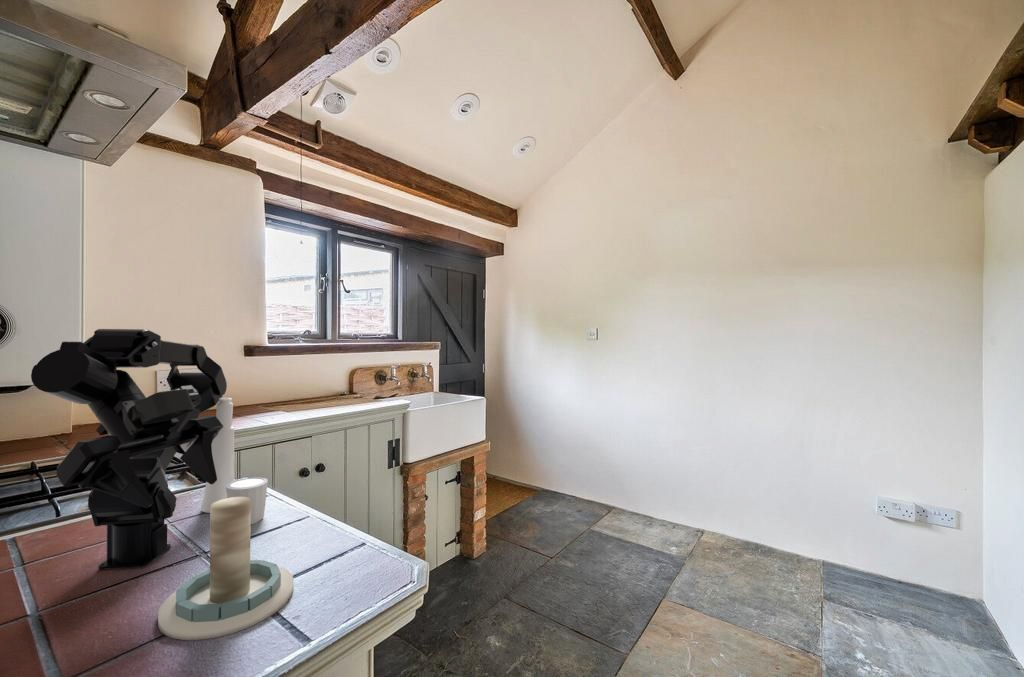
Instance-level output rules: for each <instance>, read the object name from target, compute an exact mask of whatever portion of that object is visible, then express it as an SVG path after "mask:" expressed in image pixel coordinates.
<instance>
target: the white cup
mask: <svg viewBox="0 0 1024 677" xmlns="http://www.w3.org/2000/svg"><path fill="white" fill-rule="evenodd" d="M268 481H269V480H268V479H267V478H266V477H265V478H264V477H255V476H254V477H245V478H240V479H236V480H234V481H233V482H230V483H229V484H227V485H226V493H227V498H231V497H248V498H250V499H251V525H252V524H256V523H258V522H261V521H262V520H263V519H264V518H265V512H266V511H265V510H266V501H267V493H268V492H267V490H268ZM263 517H264V518H263ZM261 519H262V520H261Z"/></svg>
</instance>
